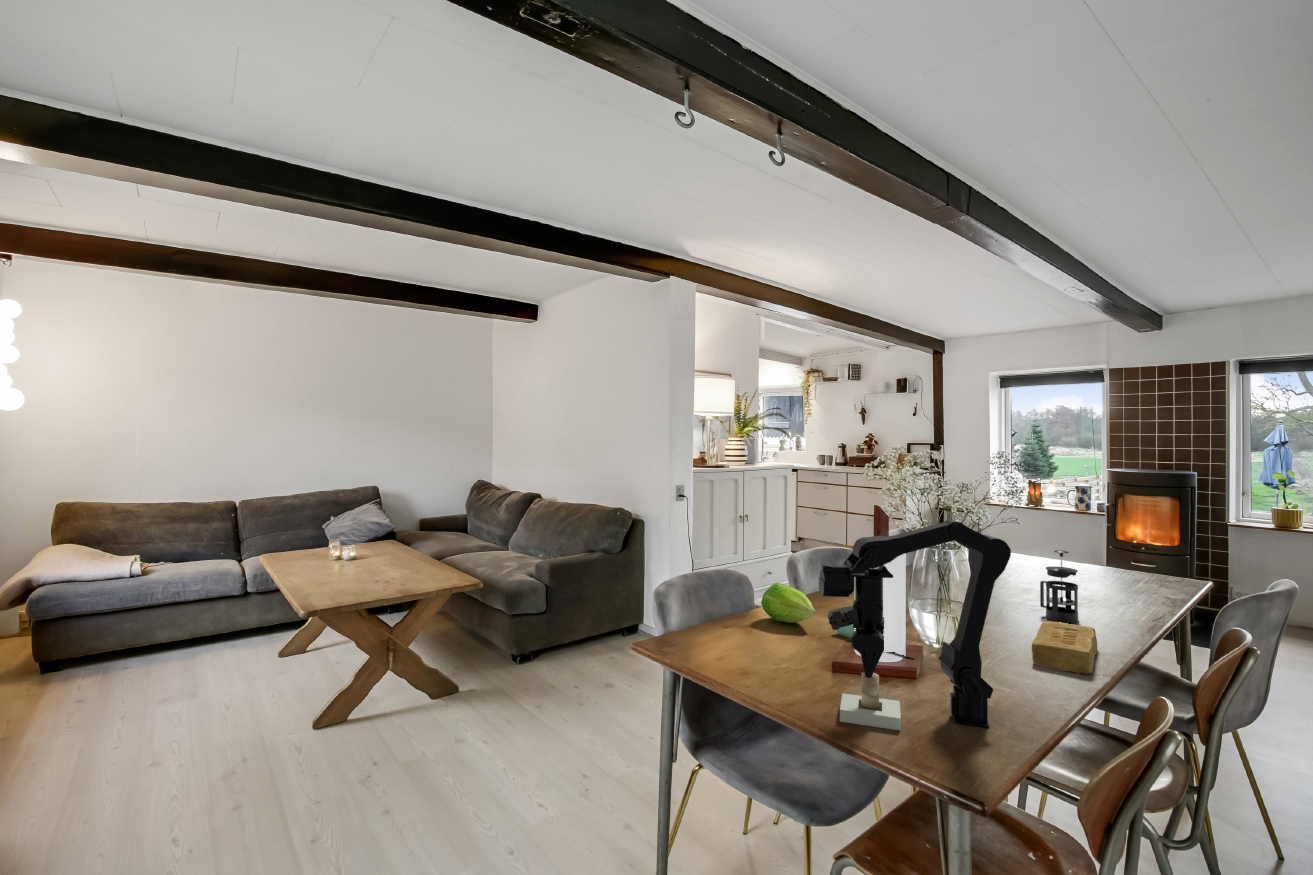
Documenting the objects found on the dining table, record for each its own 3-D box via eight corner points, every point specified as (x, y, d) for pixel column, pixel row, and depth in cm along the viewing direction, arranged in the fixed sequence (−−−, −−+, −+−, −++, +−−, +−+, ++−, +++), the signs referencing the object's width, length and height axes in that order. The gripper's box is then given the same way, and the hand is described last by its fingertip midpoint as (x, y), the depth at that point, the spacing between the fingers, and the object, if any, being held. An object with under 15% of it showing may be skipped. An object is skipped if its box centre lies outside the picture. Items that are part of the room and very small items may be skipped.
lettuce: (795, 635, 188) (795, 596, 188) (753, 619, 205) (753, 583, 205) (828, 628, 195) (828, 590, 195) (785, 613, 212) (785, 578, 212)
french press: (1086, 621, 202) (1086, 551, 202) (1072, 625, 197) (1071, 554, 197) (1048, 613, 212) (1048, 546, 212) (1034, 617, 207) (1033, 549, 207)
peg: (879, 714, 133) (879, 672, 133) (879, 721, 129) (879, 679, 130) (861, 711, 134) (861, 670, 134) (860, 719, 131) (860, 676, 131)
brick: (1032, 670, 162) (1029, 643, 163) (1043, 643, 183) (1041, 619, 183) (1094, 678, 154) (1091, 650, 154) (1098, 649, 175) (1096, 624, 175)
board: (899, 712, 134) (899, 700, 134) (900, 730, 125) (900, 718, 125) (842, 704, 138) (842, 693, 138) (839, 721, 130) (839, 709, 130)
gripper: (833, 584, 144) (833, 651, 143) (826, 604, 126) (826, 680, 126) (884, 588, 140) (884, 657, 140) (884, 609, 122) (884, 687, 122)
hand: (868, 669), depth 132 cm, fingers open, 9 cm apart
